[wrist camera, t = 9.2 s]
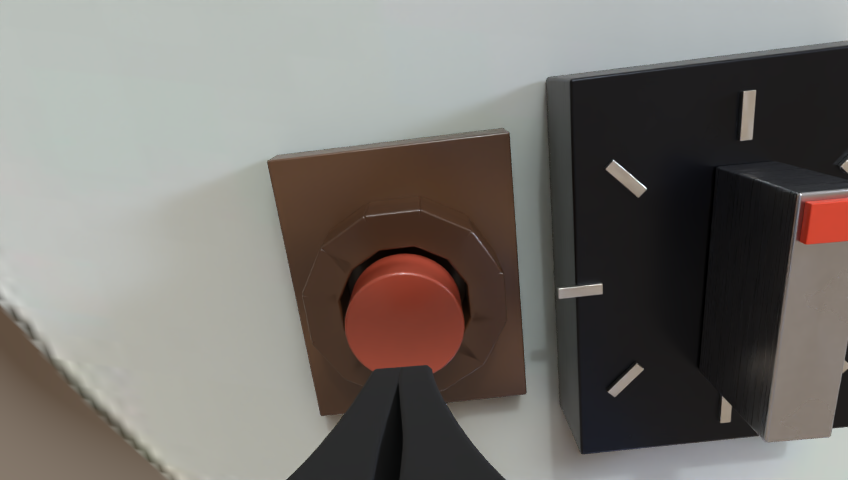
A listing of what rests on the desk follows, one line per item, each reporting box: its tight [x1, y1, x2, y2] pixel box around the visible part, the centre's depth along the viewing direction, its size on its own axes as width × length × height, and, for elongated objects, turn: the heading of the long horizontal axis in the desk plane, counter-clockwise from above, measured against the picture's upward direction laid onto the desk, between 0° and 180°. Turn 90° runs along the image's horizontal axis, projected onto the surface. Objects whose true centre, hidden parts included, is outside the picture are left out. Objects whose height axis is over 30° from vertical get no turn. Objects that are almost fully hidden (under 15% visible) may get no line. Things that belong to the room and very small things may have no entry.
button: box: [345, 253, 465, 373], centre depth 16 cm, size 4×4×2 cm
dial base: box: [546, 41, 848, 454], centre depth 18 cm, size 13×11×3 cm
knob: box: [699, 161, 848, 442], centre depth 15 cm, size 7×2×4 cm, turn 5°
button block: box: [267, 128, 526, 416], centre depth 18 cm, size 10×8×3 cm
